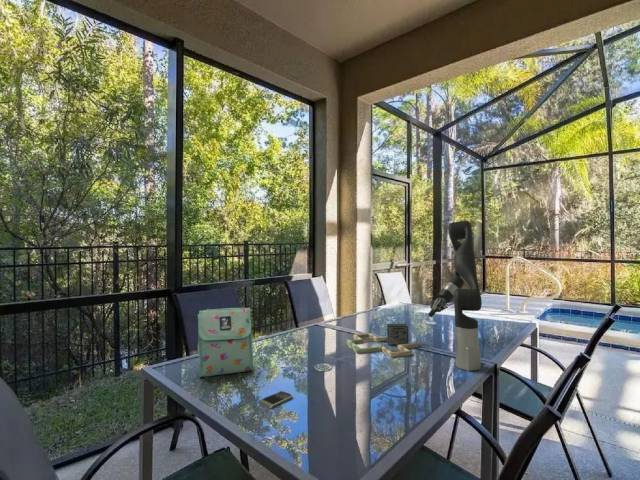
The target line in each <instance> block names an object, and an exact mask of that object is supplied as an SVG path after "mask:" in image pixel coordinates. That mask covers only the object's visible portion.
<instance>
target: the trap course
mask: <svg viewBox="0 0 640 480" xmlns="http://www.w3.org/2000/svg"><path fill="white" fill-rule="evenodd" d="M352 337H353V338H352V339H349V338H345V345H346V346H347V345H348V346H347V347H349V348H350V349H351V350H352V351H353V352H354V353H356V354H367V353H376V352H382V353H383V354H386V355H387V356H388V357H390V358H397V357H407V356H409V357H410V356H411V355H412V351H411V350H410V349H414V348H415V347H417V348H419V343H418V342H413V343H412V342H411V343H408V344H400V345H397V346H396V347H397V348H396V349H395V348H394V349H388V348H386V347H384V346H383V345H382V346H371V347H361V348H360V347H359V346H358V345H359V344H360V345H361V344H364V343H373V342H375V343H380V342H381V341H382V342H387V336H380V337H377V336H375V335H374V334H372V333H371V332H368V333H357V334H356V333H355V334H352ZM363 342H364V343H363ZM382 342H381V343H382ZM357 344H358V345H357Z"/></svg>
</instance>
